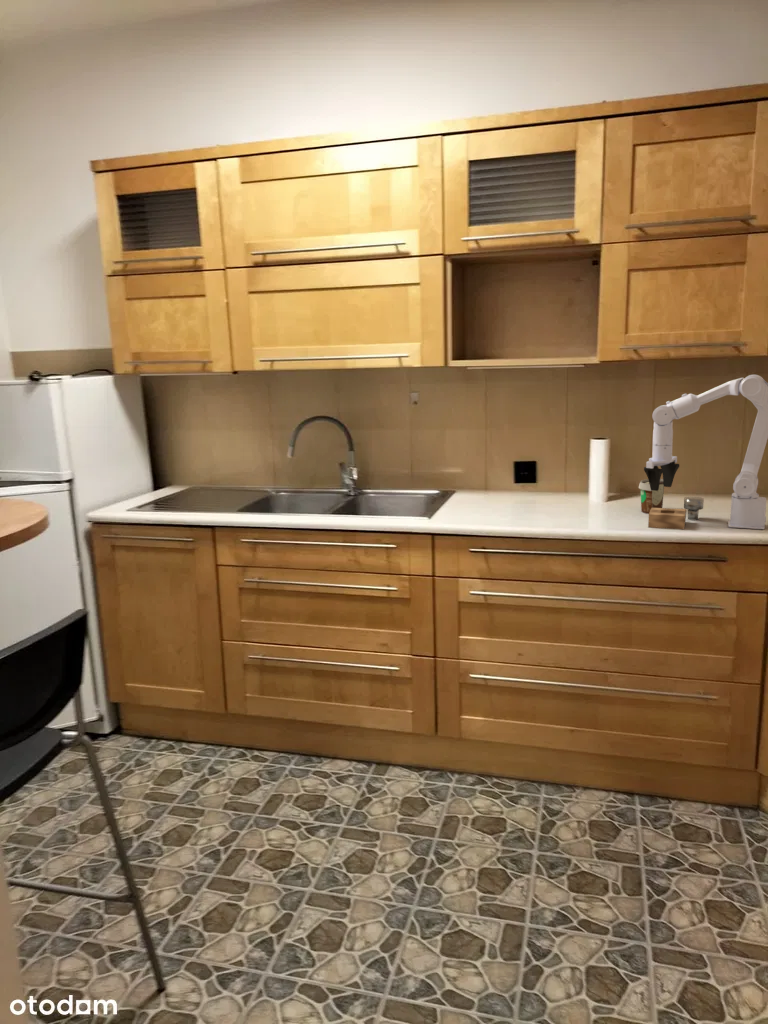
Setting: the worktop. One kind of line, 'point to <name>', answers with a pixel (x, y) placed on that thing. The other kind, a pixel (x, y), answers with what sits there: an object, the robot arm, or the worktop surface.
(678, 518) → the block
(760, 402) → the robot arm
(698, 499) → the grey rounded piece
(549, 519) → the worktop surface
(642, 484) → the food container
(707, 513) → the worktop surface
